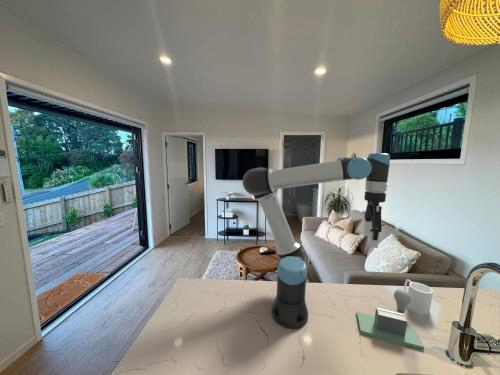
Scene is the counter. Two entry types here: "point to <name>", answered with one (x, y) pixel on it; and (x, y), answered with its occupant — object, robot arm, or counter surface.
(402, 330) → the block
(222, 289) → the counter surface
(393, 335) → the board
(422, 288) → the cup
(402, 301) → the lightbulb
